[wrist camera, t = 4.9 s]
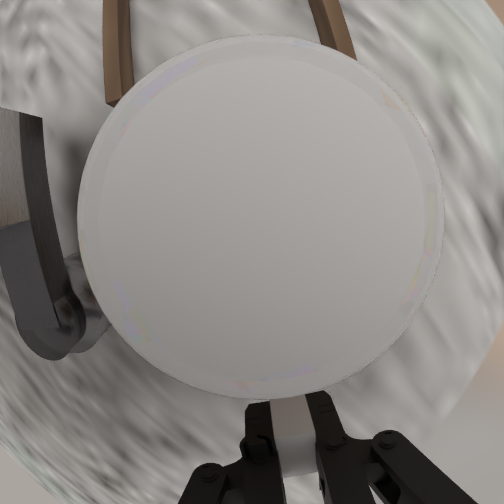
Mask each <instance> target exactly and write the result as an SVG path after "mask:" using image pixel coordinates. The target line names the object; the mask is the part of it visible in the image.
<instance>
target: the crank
mask: <svg viewBox="0 0 504 504" xmlns="http://www.w3.org/2000/svg"><path fill="white" fill-rule="evenodd" d="M0 266H1V269H2V273H3V277H4V280H5V284H6V287H7V290H8V294H9V297H10V300H11V303H12V306H13V309H14V312H15V320H16V325H17V328H18V331H19V333H20V335H21V337H22V339H23V340H24V342H25V343H26V344H27V346H28V347H29V348H30V349H31V350H32V351H33V352H35V353H36V354H37V355H39V356H40V357H42V358H45V359H47V360H60V359H62V358H64V357H65V356H66V355H67V354H68V353H69V352H70V351H71V349H72V348H73V347H74V346H75V345H76V344H77V343H78V342H79V341H80V340H81V339H82V338H83V336H84V334H85V331H86V324H87V323H86V315H85V311H84V309H83V306H82V304H81V302H80V301H79V299H78V298H77V296H76V295H75V294H74V293H73V292H72V288H71V285H70V281H69V278H68V274H67V271H66V267H65V263H64V259H63V255H62V251H61V247H60V243H59V238H58V234H57V229H56V224H55V219H54V214H53V208H52V203H51V197H50V190H49V184H48V176H47V169H46V160H45V150H44V138H43V123H42V118H40V117H37V116H33V115H29V114H25V113H21V112H17V111H13V110H9V109H5V108H1V107H0Z"/></svg>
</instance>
